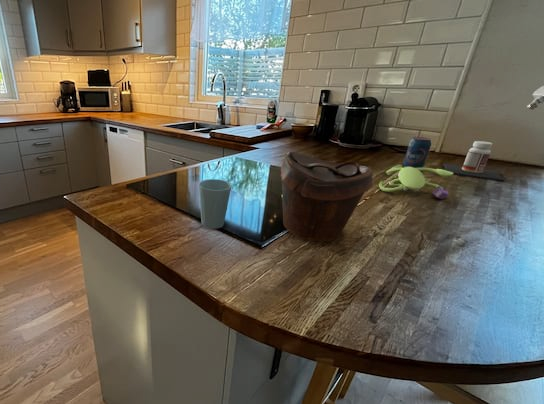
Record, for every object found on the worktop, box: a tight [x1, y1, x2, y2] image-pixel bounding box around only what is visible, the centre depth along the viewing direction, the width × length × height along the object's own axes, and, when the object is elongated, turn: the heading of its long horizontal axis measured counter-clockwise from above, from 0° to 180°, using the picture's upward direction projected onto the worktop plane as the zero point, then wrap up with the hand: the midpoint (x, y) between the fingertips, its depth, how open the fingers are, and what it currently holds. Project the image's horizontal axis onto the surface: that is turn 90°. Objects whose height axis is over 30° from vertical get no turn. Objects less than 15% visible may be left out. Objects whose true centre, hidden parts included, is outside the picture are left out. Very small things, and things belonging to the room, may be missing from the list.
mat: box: [443, 163, 505, 182], centre depth 117 cm, size 16×14×1 cm
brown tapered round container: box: [279, 150, 374, 242], centre depth 68 cm, size 18×20×18 cm
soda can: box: [402, 136, 432, 168], centre depth 120 cm, size 7×7×12 cm
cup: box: [198, 178, 232, 230], centre depth 72 cm, size 8×8×10 cm
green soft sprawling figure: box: [378, 164, 455, 200], centre depth 99 cm, size 18×27×6 cm
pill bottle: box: [462, 140, 493, 173], centre depth 114 cm, size 6×6×11 cm
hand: (539, 109), depth 105 cm, fingers open, 8 cm apart
